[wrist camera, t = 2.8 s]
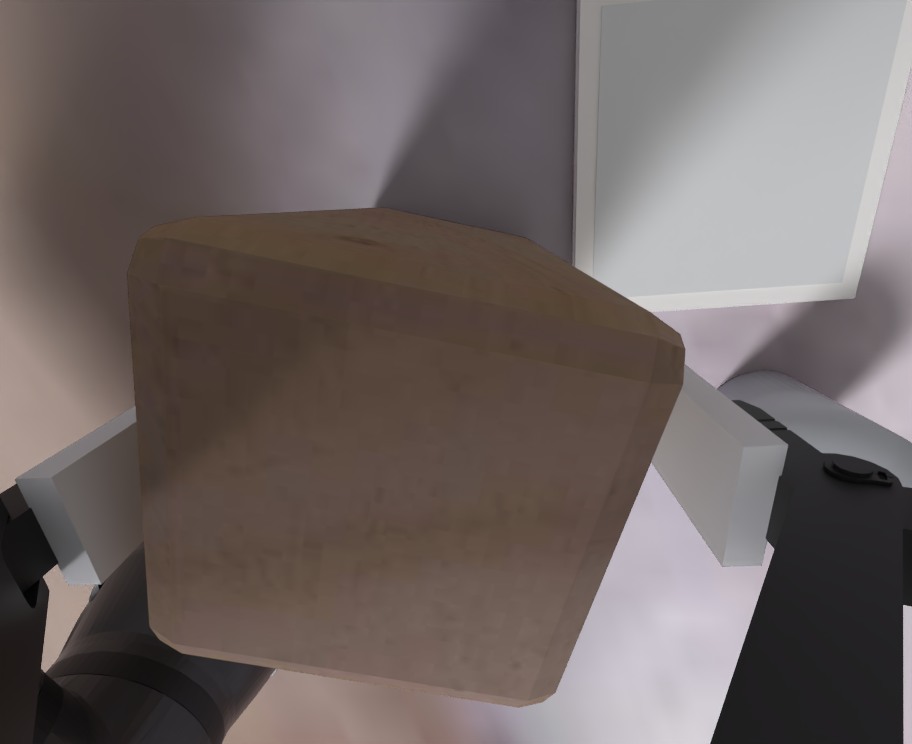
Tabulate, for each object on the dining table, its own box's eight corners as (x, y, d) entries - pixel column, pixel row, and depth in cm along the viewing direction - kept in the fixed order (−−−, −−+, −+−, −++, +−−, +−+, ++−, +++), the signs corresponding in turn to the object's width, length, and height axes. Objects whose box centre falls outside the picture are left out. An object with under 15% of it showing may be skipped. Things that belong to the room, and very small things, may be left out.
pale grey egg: (692, 468, 31) (763, 552, 23) (704, 373, 28) (789, 434, 21) (796, 462, 31) (903, 547, 23) (818, 367, 28) (945, 426, 21)
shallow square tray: (571, 313, 27) (574, 317, 26) (576, -11, 22) (581, -19, 21) (843, 295, 26) (856, 298, 26) (923, -46, 21) (942, -56, 20)
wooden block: (368, 203, 25) (88, 204, 7) (540, 240, 26) (732, 337, 7) (349, 365, 29) (130, 667, 10) (500, 395, 29) (557, 735, 11)
